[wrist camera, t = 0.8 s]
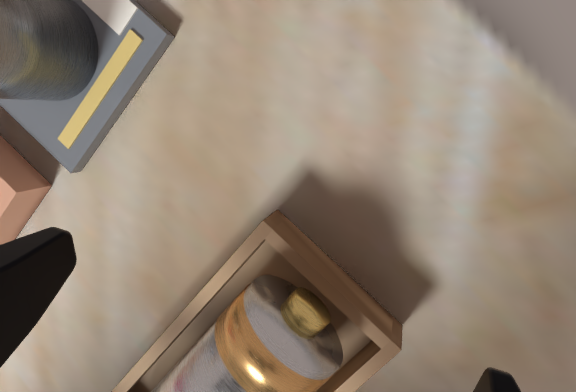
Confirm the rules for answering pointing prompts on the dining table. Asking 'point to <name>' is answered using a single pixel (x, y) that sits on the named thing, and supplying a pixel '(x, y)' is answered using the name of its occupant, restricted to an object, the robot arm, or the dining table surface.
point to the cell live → (262, 344)
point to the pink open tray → (17, 191)
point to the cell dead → (45, 49)
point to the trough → (302, 273)
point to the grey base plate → (97, 83)
